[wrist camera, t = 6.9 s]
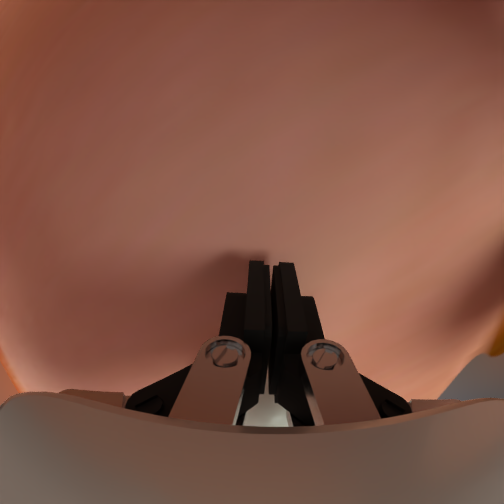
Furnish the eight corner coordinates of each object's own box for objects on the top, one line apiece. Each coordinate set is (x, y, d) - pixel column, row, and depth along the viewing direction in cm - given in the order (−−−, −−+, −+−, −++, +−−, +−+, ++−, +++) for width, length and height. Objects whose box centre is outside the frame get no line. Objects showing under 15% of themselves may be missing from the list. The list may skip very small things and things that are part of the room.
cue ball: (206, 446, 9) (215, 450, 12) (330, 440, 9) (304, 447, 13) (209, 339, 12) (217, 372, 16) (317, 338, 12) (298, 371, 16)
